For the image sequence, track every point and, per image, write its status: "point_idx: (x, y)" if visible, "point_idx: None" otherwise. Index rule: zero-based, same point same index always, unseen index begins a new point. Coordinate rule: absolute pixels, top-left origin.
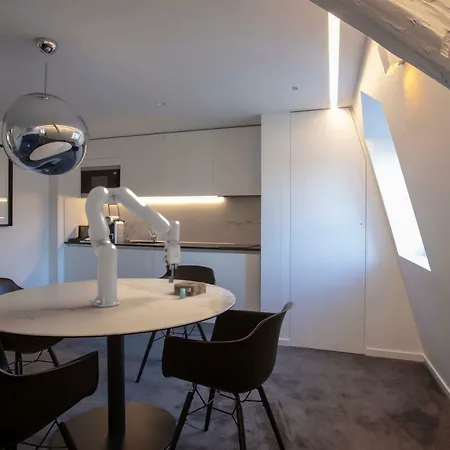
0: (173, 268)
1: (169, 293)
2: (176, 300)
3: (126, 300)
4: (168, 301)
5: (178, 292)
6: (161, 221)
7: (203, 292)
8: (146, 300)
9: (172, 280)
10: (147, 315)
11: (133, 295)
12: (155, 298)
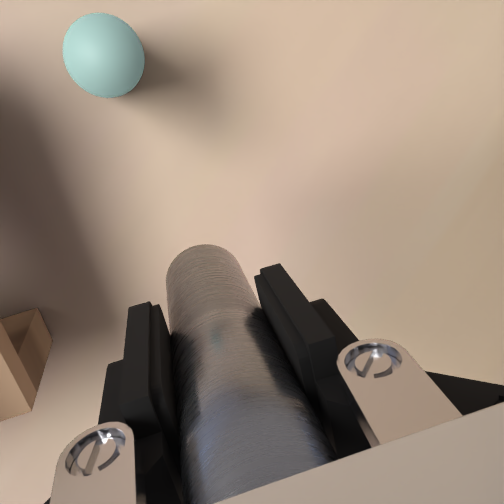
0: (218, 402)
1: (85, 382)
2: (229, 31)
3: (492, 343)
4: (317, 60)
5: (4, 322)
6: None
7: None
8: (413, 248)
9: (204, 257)
10: None
11: None
12: (317, 268)
